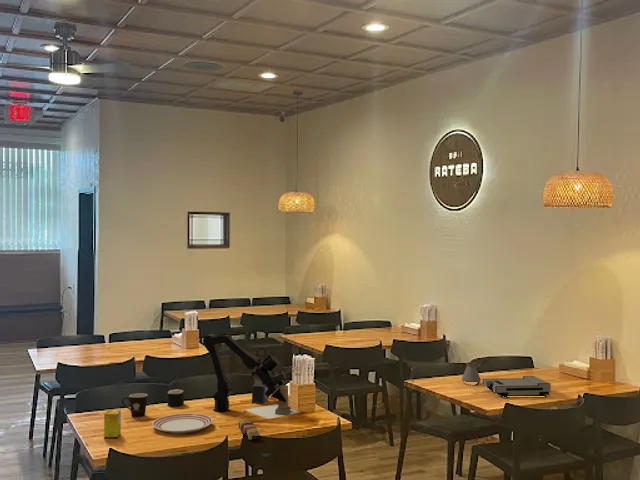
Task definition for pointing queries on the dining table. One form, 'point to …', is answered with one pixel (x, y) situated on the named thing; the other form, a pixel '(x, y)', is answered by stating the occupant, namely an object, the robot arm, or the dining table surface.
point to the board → (268, 411)
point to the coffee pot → (472, 372)
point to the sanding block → (283, 406)
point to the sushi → (175, 398)
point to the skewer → (248, 429)
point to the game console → (519, 386)
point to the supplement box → (112, 424)
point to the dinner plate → (182, 422)
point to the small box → (259, 393)
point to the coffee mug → (137, 404)
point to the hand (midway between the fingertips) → (286, 400)
